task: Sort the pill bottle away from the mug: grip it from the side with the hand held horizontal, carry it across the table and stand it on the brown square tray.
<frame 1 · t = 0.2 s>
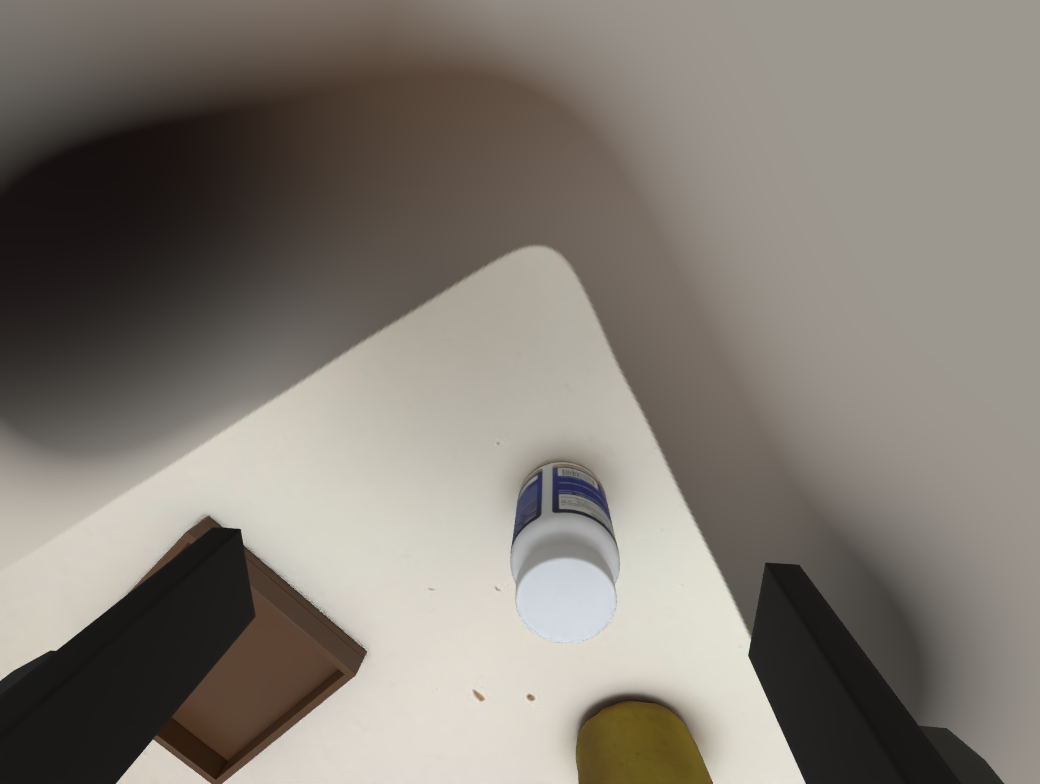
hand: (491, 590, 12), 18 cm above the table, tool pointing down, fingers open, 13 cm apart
brown square tray: (222, 648, 37), on the table
mug: (642, 753, 37), on the table
pill bottle: (562, 497, 32), on the table
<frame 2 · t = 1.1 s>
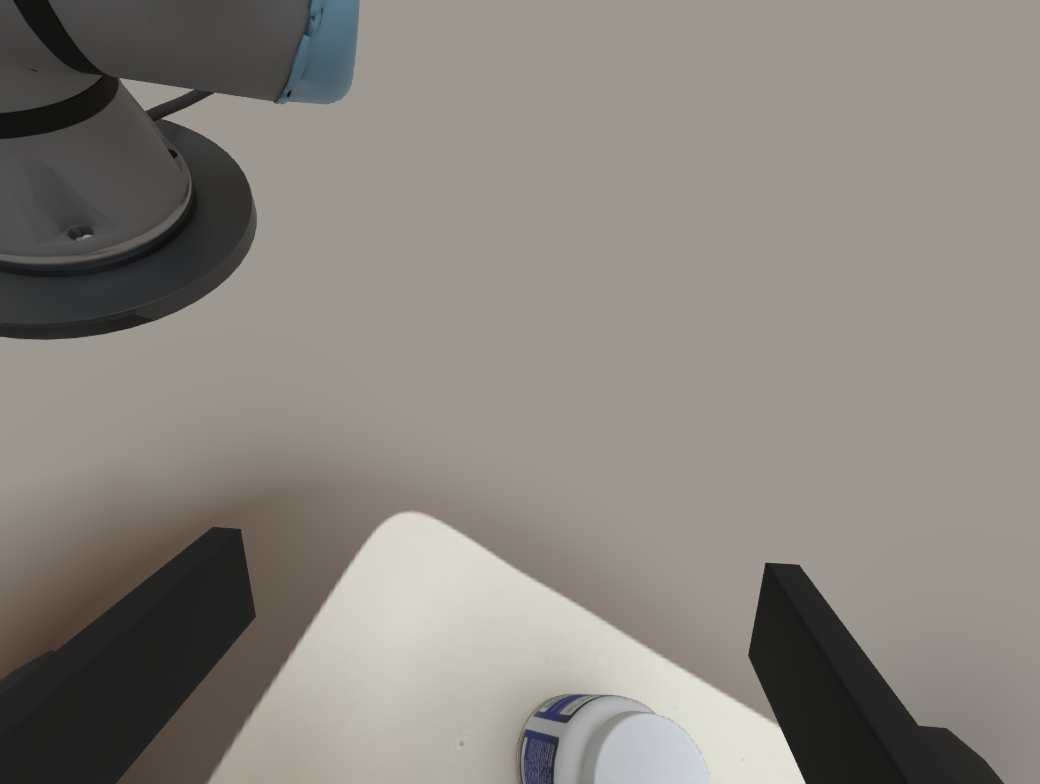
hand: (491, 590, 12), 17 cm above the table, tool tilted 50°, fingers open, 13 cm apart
pill bottle: (566, 757, 25), on the table
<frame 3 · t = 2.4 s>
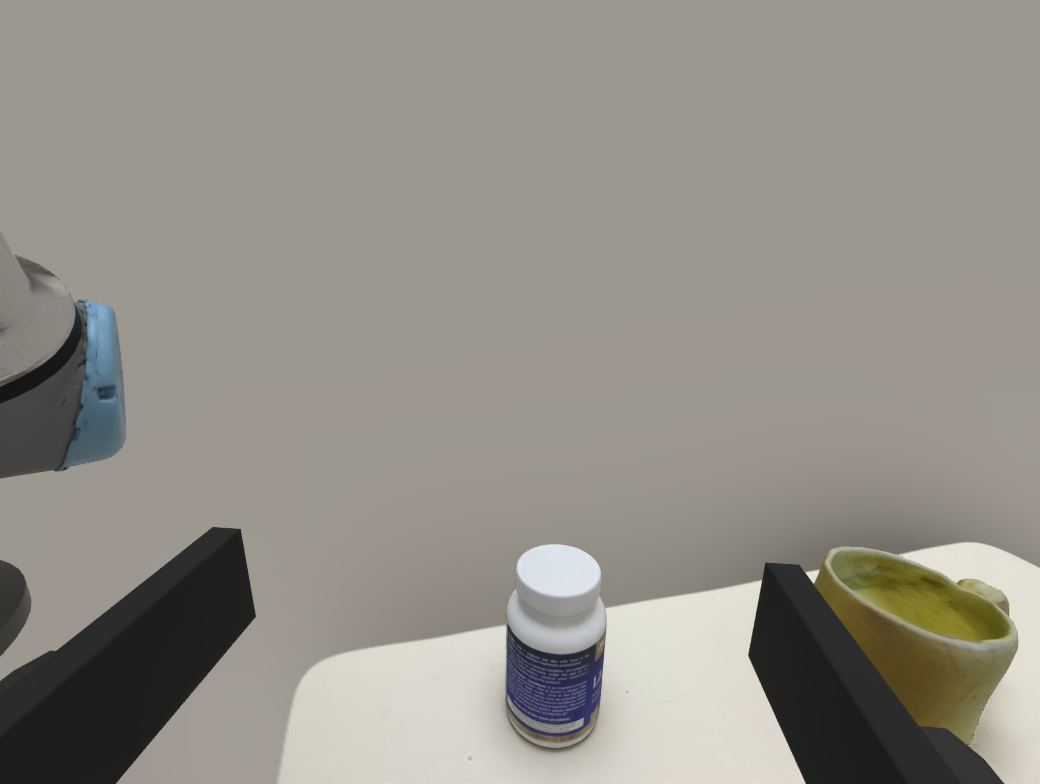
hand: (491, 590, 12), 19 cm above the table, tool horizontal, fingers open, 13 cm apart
mug: (898, 693, 31), on the table
pill bottle: (551, 708, 29), on the table
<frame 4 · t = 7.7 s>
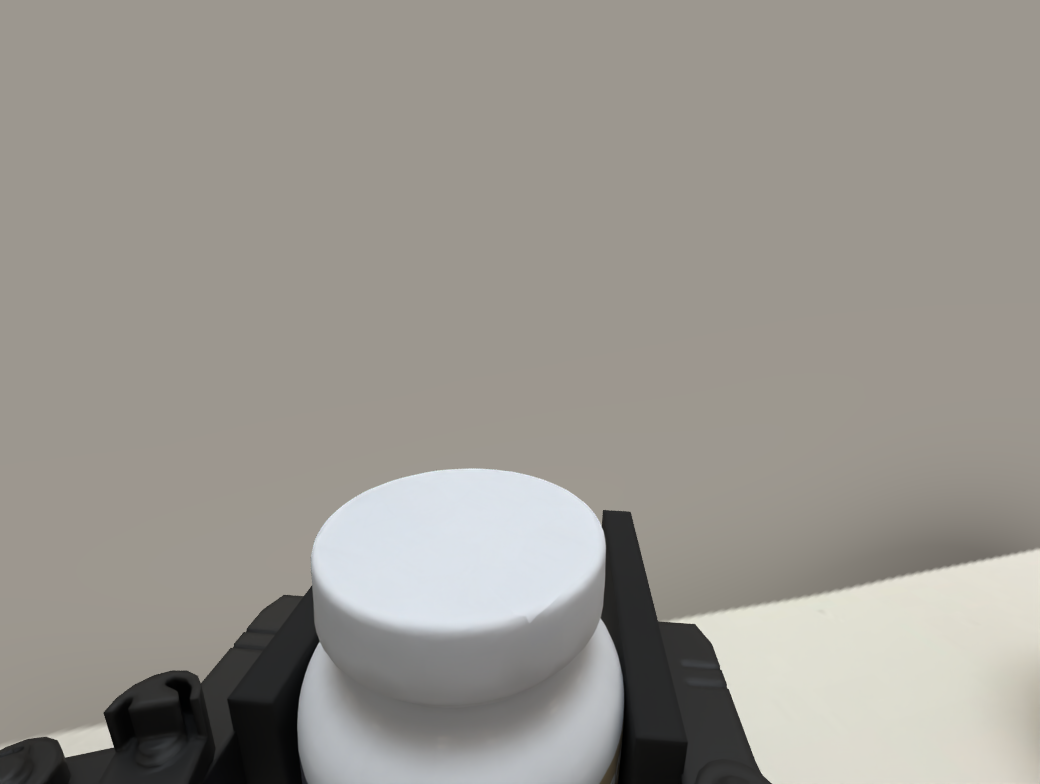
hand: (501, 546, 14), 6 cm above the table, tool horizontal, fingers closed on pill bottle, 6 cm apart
when the fingers open (7 cm above the table, at t = 17.9 s): pill bottle stays where it is, resting on brown square tray.
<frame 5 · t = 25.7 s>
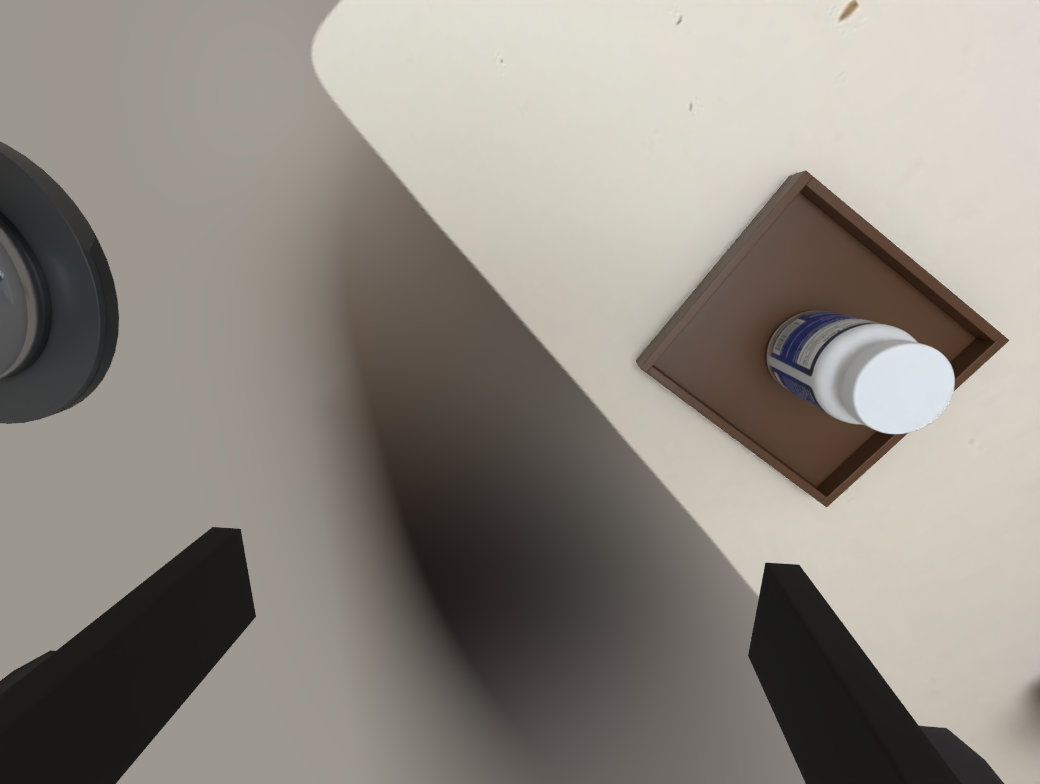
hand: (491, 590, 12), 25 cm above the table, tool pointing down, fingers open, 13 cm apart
brown square tray: (802, 348, 34), on the table
pill bottle: (805, 349, 33), resting on brown square tray
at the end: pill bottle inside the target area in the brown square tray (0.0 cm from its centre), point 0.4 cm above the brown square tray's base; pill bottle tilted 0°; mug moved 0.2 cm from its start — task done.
